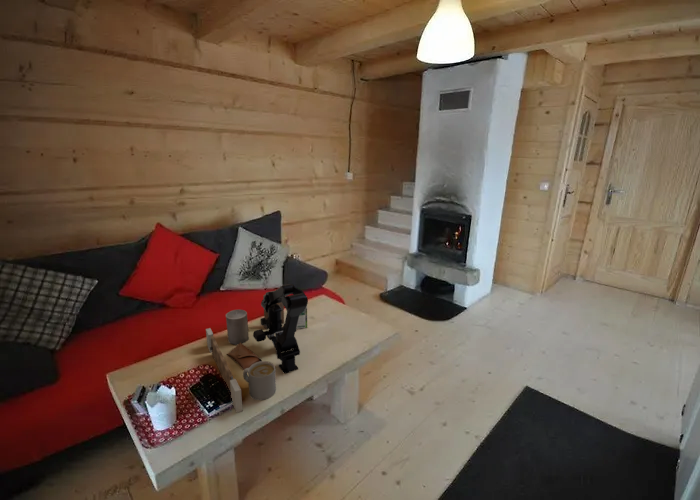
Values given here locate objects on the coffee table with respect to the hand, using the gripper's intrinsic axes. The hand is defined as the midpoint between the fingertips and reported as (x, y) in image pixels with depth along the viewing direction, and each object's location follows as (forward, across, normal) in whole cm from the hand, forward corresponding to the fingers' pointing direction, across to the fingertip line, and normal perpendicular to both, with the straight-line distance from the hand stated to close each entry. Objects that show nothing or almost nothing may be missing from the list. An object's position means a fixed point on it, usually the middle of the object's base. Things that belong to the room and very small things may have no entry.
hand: (275, 347), depth 160 cm
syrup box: (+2, -20, -15) cm, 25 cm away
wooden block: (+2, -8, -23) cm, 24 cm away
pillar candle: (+2, +12, -18) cm, 22 cm away
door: (+1, +26, +5) cm, 26 cm away
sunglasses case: (+2, +15, -1) cm, 15 cm away
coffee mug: (+2, +15, +22) cm, 27 cm away
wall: (+2, +25, +5) cm, 26 cm away
